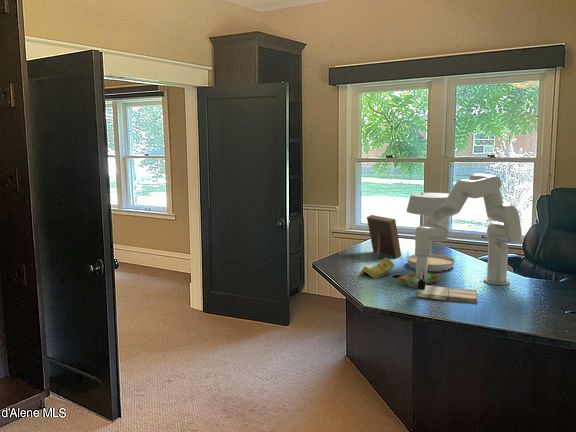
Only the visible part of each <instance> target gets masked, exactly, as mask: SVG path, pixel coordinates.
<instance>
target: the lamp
mask: <svg viewBox="0 0 576 432" xmlns="http://www.w3.org/2000/svg"><path fill="white" fill-rule="evenodd" d="M449 194H450V193H447V192H446V193H444V192H414V193H411V194H410V196H409V200H408V204H407V208H406V213H409V214H412V215H419V226H423V224H424V216H427V217H428V216H429V215H430V214H431V213H432V212H433V211H434V210H436V209H437V208H438V207H440V206H441V205H443V204H444V202H445V200H446V199H447V197H448V195H449ZM406 260H407V263H408V266H409V267H410V268H412V269H415V270H416V260H417V256H416V255H415V254H411V255H408V256H407V257H406ZM455 262H456V259H455V258H453V257H451V256H448V255H443V254H435V253H431V256H428V269H427V272H444V271H443V270H446V271H449V270H448V269H450V270H452V269H453V268H454V265H455ZM452 267H453V268H452ZM451 268H452V269H451Z"/></svg>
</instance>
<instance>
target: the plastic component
mask: <svg viewBox="0 0 576 432" xmlns="http://www.w3.org/2000/svg"><path fill="white" fill-rule="evenodd" d="M394 267H395V263H394V262H393V261H391V260H390V259H389V258H387V257H384V258H383V259H382V260H380V261H379V262H378V263H377V265H374V266H371V267H368V266H363V267H362V269H361V271H360V273H359V275H360V276H364V275H366V274H367V275H369V276H370V277H372V279H379V278H381V277H383V276H385V275H387V274H388V273H389V272H390V271H392V270H393V268H394Z"/></svg>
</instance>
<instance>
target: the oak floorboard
mask: <svg viewBox="0 0 576 432" xmlns="http://www.w3.org/2000/svg"><path fill="white" fill-rule="evenodd" d="M448 288H449V291H448V298H447V301H449V302H461V303H472V304H478V291H477V289H466V288H453V287H448Z"/></svg>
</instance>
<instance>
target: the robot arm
mask: <svg viewBox="0 0 576 432" xmlns="http://www.w3.org/2000/svg"><path fill="white" fill-rule="evenodd" d="M501 187H502V180H501V178H500V177H499V176H497V175H495V174H485V173H473V174H471V175H470V176H469V178H468V179H459V180H457V181H456V183H455V184H454V186H453V187H452V189H451V191H449V193H448V194H449V195H448V197H447V199H446V200H445V202H444V204H443V205H441V206H440V207H438V208H437V209H436V210H434V211H433V212H432V213H431V214H430V215H429V216H428V215H427V218H426V219H425V220H424V222H423V226H420V225H419V226H416V228H415V239H414V240H415V242H414V243H415V244H414V246H415V247H414V255H416V256H417V260H416V269H415V272H416V276H418V274H419V281H418V288H417V290H418V289H422V290H425V276H426V274H427V272H428V271H427V269H428V256H431V254H432V243H433V242H439V243H440V242H444V241H446V240H447V239H448V237H449V235H450V233H449V230H448V229H447V227H445V226H442V225H439V224H440V223H441V222H442V221H443V220H444V219H447V218H449V217H451V216H452V217H453V216H455V215H457V214H458V213H460V212H461V210H462V208H463V207H464V205H465V203H466V202H467V200H468V198H470V199H479V198H483V202H484V207H485V212H486V216H487V218H488V220H490V221H493V222H491V223H490V224H489V225H488V227H487V229H486V235H487V243H488V246H487V247H488V248H487V270H486V277H484V278H483V282H484V283H487V284H489V285H496V286H505V285H506V286H507V285H509V284H510V279H508V278H507V277H508V259H509V258H508V257H509V247H508V244H511V245H512V244H517V243H519V241H521V238H522V227H521V220H520V214H519V211H518V208H516V207H515V206H514V205H513V204H510V203H509V204H508V203H505V202H504V200H503V197H502V193H501Z"/></svg>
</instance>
